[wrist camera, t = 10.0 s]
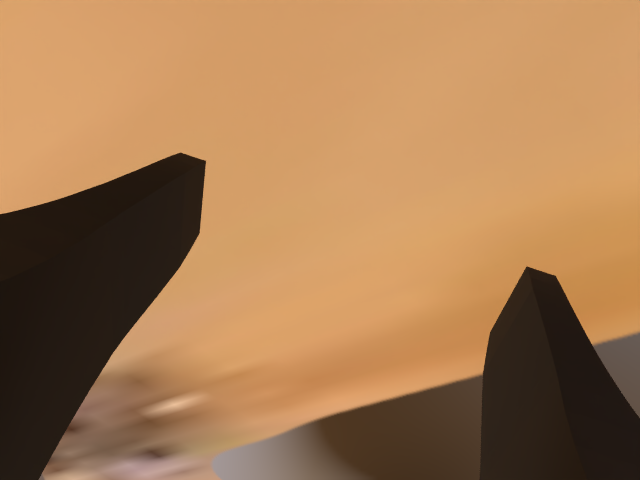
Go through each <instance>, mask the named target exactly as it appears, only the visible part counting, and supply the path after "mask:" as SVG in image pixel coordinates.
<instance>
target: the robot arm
mask: <svg viewBox="0 0 640 480" xmlns="http://www.w3.org/2000/svg"><path fill="white" fill-rule="evenodd" d="M205 165H206V161H204V160H201V159H198V158H195V157H192V156H189V155H186V154H183V153H178V154H175V155H172V156H170V157H167V158H165V159H162V160H160V161H158V162H155V163H153V164H150V165H148V166H146V167H143V168H141V169H139V170H136V171H134V172H131V173H129V174H126V175H124V176H121V177H119V178H116V179H114V180H112V181H109V182H107V183H104V184H101V185H98V186H96V187H93V188H90V189H87V190H84V191H81V192H79V193H76V194H73V195H70V196H67V197H64V198H61V199H58V200H55V201H51V202H48V203H44V204H41V205H37V206H33V207H29V208H26V209H22V210H18V211H14V212H9V213H5V214H0V480H38V479H39V478H40V476H41V474H42V472H43V470H44V468H45V467H46V465H47V463H48V461H49V459H50V458H51V456H52V454H53V452H54V451H55V449H56V447H57V445H58V443H59V442H60V440H61V438H62V436H63V435H64V433H65V431H66V429H67V427H68V426H69V424H70V422H71V421H72V419H73V417H74V416H75V414H76V412H77V411H78V409H79V407H80V405H81V404H82V402H83V400H84V399H85V397H86V395H87V394H88V392H89V390H90V389H91V387H92V385H93V384H94V382H95V381H96V379H97V378H98V376H99V374H100V373H101V371H102V370H103V368H104V366H105V365H106V363H107V362H108V360H109V358H110V357H111V355H112V354H113V352H114V351H115V349H116V348H117V347H118V345H119V344H120V343H121V341H122V340H123V338H124V337H125V336H126V335H127V333H128V332H129V331H130V330H131V328H132V327H133V326H134V324H135V323H136V322H137V321H138V319H139V318H140V317H141V316H142V314H143V313H144V312H145V311H146V309H147V308H148V307H149V306H150V304H151V303H152V302H153V301H154V299H155V298H156V297H157V296H158V294H159V293H160V292H161V291H162V289H163V288H164V287H165V286H166V284H167V283H168V282H169V280H170V279H171V278H172V277H173V275H174V274H175V273H176V271H177V270H178V269H179V267H180V266H181V264H182V263H183V261H184V259H185V258H186V256H187V254H188V253H189V251H190V249H191V247H192V246H193V244H194V242H195V240H196V238H197V237H198V235H199V233H200V222H201V210H202V199H203V188H204V176H205ZM479 480H640V418H639V417H638V415H637V414H636V413H635V411H634V410H633V409H632V407H631V406H630V404H629V403H628V402H627V400H626V399H625V397H624V396H623V394H622V393H621V391H620V390H619V388H618V387H617V385H616V384H615V382H614V380H613V379H612V377H611V376H610V374H609V373H608V371H607V370H606V368H605V366H604V365H603V363H602V361H601V360H600V358H599V356H598V355H597V353H596V351H595V350H594V348H593V346H592V344H591V342H590V340H589V339H588V337H587V335H586V333H585V331H584V329H583V328H582V326H581V324H580V322H579V320H578V318H577V316H576V314H575V312H574V310H573V309H572V307H571V305H570V303H569V301H568V299H567V297H566V295H565V293H564V291H563V289H562V287H561V285H560V283H559V281H558V280H557V278H556V276H554V275H551V274H548V273H545V272H542V271H539V270H536V269H533V268H530V267H526V269H525V270H524V272H523V274H522V276H521V278H520V279H519V281H518V283H517V285H516V287H515V288H514V290H513V292H512V294H511V296H510V297H509V299H508V301H507V303H506V305H505V306H504V308H503V310H502V312H501V314H500V315H499V317H498V319H497V321H496V323H495V325H494V326H493V328H492V330H491V332H490V336H489V341H488V347H487V352H486V358H485V365H484V371H483V390H482V426H481V465H480V479H479Z"/></svg>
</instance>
